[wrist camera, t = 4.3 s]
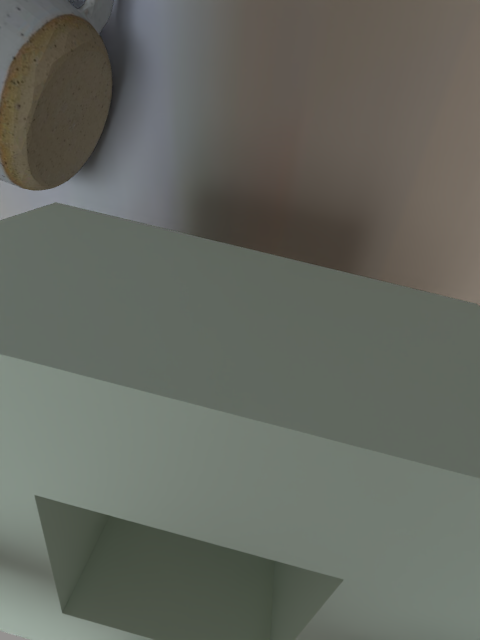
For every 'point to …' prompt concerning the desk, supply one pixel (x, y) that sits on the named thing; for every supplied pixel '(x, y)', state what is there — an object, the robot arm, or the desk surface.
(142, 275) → the mint square frame
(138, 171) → the desk surface
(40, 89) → the ceramic mug
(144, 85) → the desk surface
